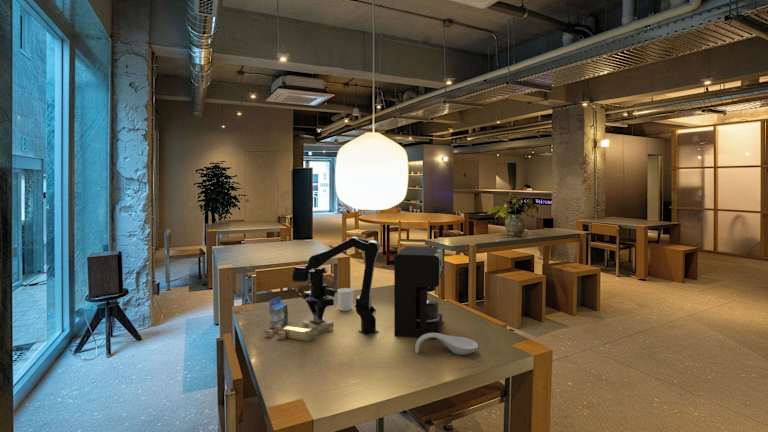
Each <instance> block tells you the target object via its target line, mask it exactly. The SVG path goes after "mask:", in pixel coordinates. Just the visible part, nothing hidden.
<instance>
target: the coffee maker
mask: <svg viewBox="0 0 768 432" xmlns="http://www.w3.org/2000/svg"><path fill="white" fill-rule="evenodd" d="M443 253H444V252H443V248H441V247H438V246H437V247H436V246H404V247H403V248H402V249H401V250H400V251H399V252H397V253H396V254H395V255H394V256H393V259H394V263H393V264H394V266H393V267H394V274H393V275H394V282H393V283H394V286H393V287H394V291H393V292H394V293H393V295H394V303H393V304H394V314H393V315H394V323H393V324H394V326H393V327H394V331H393V332H394V334H393V335H394V337H399V338H400V337H402V338H415V339H419V337H421V336H422V335H424V334H427V333H440V334H441V330H442V329H441V328H442V324H443V314H442V313H440V304H439V301H438V300H436V299H431V298H428V293H430V292H431V293H432V292H435V291H436V290H437V289H436V288H438V287H439V286H440V283H441V279H442V276H443V273H444V272H443V271H444V269H445V266H443V264H444V262H443V259H444V257H443V255H444V254H443ZM429 339H430V340H438V339H437V338H428V340H429Z"/></svg>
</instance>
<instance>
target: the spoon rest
mask: <svg viewBox="0 0 768 432" xmlns="http://www.w3.org/2000/svg"><path fill="white" fill-rule="evenodd" d="M428 338H437V339H436V340H439V341H440V342H442V344H444V345H445V346H446V348H448V349H449V351H451V353H453V354H455V355H458V356H466V355H470V354H472V353H473V352H475V351H476V350H477V349H478V347H479V344H478V343H477V342H476V341H474V340H473V339H470V338H467V337H463V336H455V335H449V334H444V333H441V332H440V333H427V334H424V335H422V336H421V337H419V338H417V340H416V342H415V346H414V351H415V354H417V355H418V354H419V352H420V346H421V344H422V343H423V342H424V341H425V340H427V339H428ZM428 340H429V339H428Z"/></svg>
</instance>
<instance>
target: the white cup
mask: <svg viewBox="0 0 768 432" xmlns="http://www.w3.org/2000/svg"><path fill="white" fill-rule="evenodd" d="M353 297H354V289H353V288H351V287H350V288H349V287H343V288H342V287H341V288H338V289H337V302H338V310H339V311H343V312H346V311H347V312H348V311H351V310H353V302H354V299H353Z"/></svg>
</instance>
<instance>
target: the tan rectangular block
mask: <svg viewBox="0 0 768 432" xmlns="http://www.w3.org/2000/svg"><path fill="white" fill-rule="evenodd" d="M282 332H286V339H295V340H299V341H306V342H311V341H312V340H314V339H315V337H316V336H315V328H309V329H304V328H302V327H296V326H295V327H294V326H290V325H287V326H285V327H282Z"/></svg>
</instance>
